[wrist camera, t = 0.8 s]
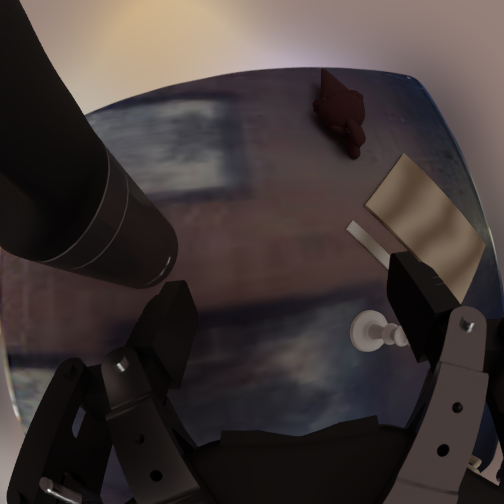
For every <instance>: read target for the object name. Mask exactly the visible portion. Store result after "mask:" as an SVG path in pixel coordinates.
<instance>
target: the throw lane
mask: <svg viewBox="0 0 504 504" xmlns="http://www.w3.org/2000/svg"><path fill="white" fill-rule="evenodd" d="M364 207H365V208H366V209H367V210H368V211H369V212H370V213H371V214H372V215H374V216H375V217H376V218H377V219H378V220H379V221H380V222H381V223H382V224H383V225H384V226H385V227H386V228H387V229H388V230H389V231H390V232H391V233H392V234H393V235H394V236H395V237H396V238H397V239H398V240H399V241H400V242H401V243H402V244H403V245H404V246H405V247H406V248H407V249H408V250H409V251H410V252H411V253H412V254H413V255H414V256H415V258H416V259H417V260H418V261H419V262H424V263H425V264H427V265H429V266H430V267H432V268H433V269H434V270H435V272H436V273H437V274H438V275H439V277H440V278H441V279H442V280H443V282H444V284H446V285H447V287H448V288H449V289H450V291H451V292H452V293H453V295H454V296H455V297H456V299H457V300H458V301H459V303H460V304H461V303H462V301H463V299H464V297H465V294H466V292H467V290H468V288H469V286H470V283H471V281H472V279H473V276H474V274H475V272H476V269H477V267H478V264H479V262H480V259H481V256H482V254H483V251H484V248H485V244H484V242H483V241H482V239H481V238H480V237H479V235H478V234H477V233H476V231H475V230H474V229H473V227H472V226H471V225H470V224H469V222H468V221H467V220H466V219H465V217H464V216H463V215H462V214H461V212H460V211H459V210H458V209H457V208H456V206H455V205H454V204H453V203H452V202H451V201H450V200H449V198H448V197H447V196H446V195H445V194H444V193H443V192H442V191H441V190H440V188H439V187H438V186H437V185H436V184H435V183H434V182H433V181H432V180H431V179H430V178H429V177H428V176H427V175H426V174H425V173H424V172H423V171H422V170H421V169H420V168H419V167H418V166H417V165H416V164H415V163H414V162H413V161H412V160H411V159H410V158H409V157H407V156H406V155H405V154H403V155H402V156H401V157H400V159H399V160H398V162H397V163H396V164H395V166H394V167H393V168H392V170H391V171H390V173H389V174H388V175H387V177H386V178H385V179H384V181H383V182H382V183H381V185H380V186H379V187H378V189H377V190H376V191H375V193H374V194H373V195H372V196H371V198H370V199H369V200H368V202H367V203H366V204H365V206H364ZM346 231H347V232H349V233H350V234H351V235H352V236H353V237H354V238H355V239H356V240H357V241H358V242H359V243H360V244H361V245H362V246H363V247H365V248H366V249H367V250H368V251H369V252H370V253H371V254H372V255H373V256H374V257H375V258H376V259H377V260H378V261H379V262H380V263H381V264H382V265H383V266H384V267H385V268H386V269H387V270H389V260H390V255H389V254H388V253H387V252H386V251H385V250H384V249H383V248H382V247H381V246H380V245H379V244H378V243H377V242H375V241H374V240H373V239H372V238H371V237H370V236H369V235H368V234H367V233H366V232H365V231H364V230H363V229H362V228H361V227H360V226H359V225H358V224H356V223H355V222H354V221H352V222H351V223H350V225H349V226H348V227H347V228H346Z"/></svg>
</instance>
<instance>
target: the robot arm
mask: <svg viewBox="0 0 504 504" xmlns="http://www.w3.org/2000/svg"><path fill="white" fill-rule="evenodd" d="M0 246H1V247H2V248H3V249H4V250H5V251H7V252H9V253H11V254H13V255H15V256H18V257H21V258H24V259H27V260H30V261H34V262H37V263H40V264H43V265H47V266H50V267H54V268H57V269H61V270H65V271H69V272H72V273H76V274H80V275H83V276H87V277H91V278H95V279H99V280H103V281H107V282H111V283H115V284H119V285H123V286H127V287H132V288H137V289H140V288H148V287H151V286H154V285H156V284H157V283H159V282H161V281H162V280H163V279H164V278H165V277H166V276H167V275H168V274H169V272H170V271H171V269H172V267H173V265H174V263H175V261H176V257H177V250H178V243H177V237H176V234H175V231H174V229H173V228H172V226H171V225H170V223H169V222H168V221H167V220H166V219H165V217H164V216H163V215H162V214H161V213H160V211H159V210H158V209H157V208H156V207H155V206H154V204H153V203H152V202H151V201H150V200H149V199H148V197H147V196H146V195H145V194H144V193H143V191H142V190H141V189H140V188H139V187H138V185H137V184H136V183H135V182H134V181H133V179H132V178H131V177H130V176H129V174H128V173H127V172H126V171H125V170H124V168H123V167H122V166H121V165H120V163H119V162H118V161H117V160H116V159H115V157H114V156H113V155H112V154H111V152H110V151H109V150H108V149H107V147H106V146H105V145H104V144H103V142H102V141H101V140H100V138H99V137H98V136H97V134H96V133H95V132H94V130H93V129H92V127H91V126H90V124H89V123H88V121H87V119H86V118H85V116H84V114H83V113H82V111H81V109H80V107H79V106H78V104H77V103H76V101H75V99H74V98H73V96H72V95H71V93H70V92H69V90H68V89H67V87H66V86H65V84H64V83H63V81H62V80H61V78H60V77H59V75H58V74H57V72H56V70H55V69H54V67H53V65H52V64H51V62H50V60H49V58H48V57H47V55H46V53H45V51H44V49H43V47H42V46H41V43H40V42H39V39H38V37H37V35H36V33H35V31H34V29H33V27H32V25H31V23H30V21H29V19H28V17H27V14H26V13H25V11H24V9H23V7H22V5H21V3H20V1H19V0H0ZM387 297H388V300H389V303H390V305H391V307H392V309H393V311H394V313H395V315H396V317H397V319H398V321H399V323H400V325H401V327H402V329H403V331H404V333H405V335H406V338H407V340H408V342H409V344H410V346H411V349H412V351H413V353H414V355H415V358H416V360H417V362H418V363H420V362H424V361H427V360H429V363H430V367H429V370H428V372H427V375H426V378H425V381H424V384H423V387H422V390H421V392H420V395H419V398H418V400H417V403H416V405H415V408H414V410H413V412H412V414H411V416H410V418H409V420H408V422H407V424H406V426H405V428H402V427H398V426H394V425H387V424H378V419H377V415H374V416H370V417H365V418H361V419H356V420H351V421H345V422H339V423H337V424H334V425H332V426H329V427H327V428H324V429H321V430H318V431H316V432H313V433H310V434H307V435H304V436H289V435H283V434H276V433H270V432H265V431H259V430H256V431H224V430H222V432H221V440H216V441H213V442H210V443H207V444H205V445H202V446H200V447H198V446H197V445H196V443H195V442H194V441H193V439H192V438H191V437H190V435H189V434H188V432H187V431H186V429H185V427H184V426H183V424H182V422H181V420H180V419H179V417H178V415H177V413H176V411H175V410H174V408H173V406H172V404H171V402H170V400H169V398H168V397H167V396H166V395H167V391H168V389H180V385H181V382H182V378H183V375H184V371H185V367H186V364H187V360H188V357H189V353H190V350H191V346H192V343H193V340H194V336H195V333H196V329H197V326H198V312H197V309H196V306H195V304H194V301H193V299H192V296H191V293H190V291H189V288H188V285H187V283H186V282H185V281H184V280H180V281H171V282H166V283H165V284H164V286H163V288H162V289H161V291H160V293H159V295H155V296H154V297H153V298H152V299H151V300H150V301H149V302H148V303H147V305H146V307H145V308H144V310H143V312H142V313H143V314H141V316H140V318H139V322H137V323H136V325H135V327H134V329H133V331H132V333H131V335H130V337H129V339H128V341H127V343H126V345H125V347H120V348H117V349H115V350H113V351H111V352H110V353H109V354H108V355H107V356H106V357H105V358H104V360H103V362H102V364H99V365H95V366H90V367H86V365H85V364H84V363H83V362H82V360H81V359H79V358H70V359H67V360H66V361H64V362H63V363H62V364H61V365H60V366H59V367H58V369H57V370H56V372H55V374H54V376H53V378H52V380H51V382H50V384H49V386H48V388H47V390H46V392H45V394H44V396H43V398H42V400H41V402H40V404H39V406H38V408H37V411H36V413H35V415H34V417H33V420H32V422H31V424H30V427H29V429H28V431H27V434H26V436H25V439H24V442H23V444H22V447H21V449H20V452H19V455H18V458H17V461H16V464H15V467H14V470H13V473H12V476H11V479H10V483H9V486H8V490H7V504H103V502H102V499H101V497H100V492H101V488H102V483H103V479H104V475H105V471H106V467H107V463H108V459H109V455H110V451H111V448H112V444H113V445H114V448H115V451H116V454H117V457H118V459H119V462H120V465H121V467H122V470H123V473H124V475H125V477H126V480H127V482H128V485H129V487H130V489H131V492H132V494H133V496H134V497H133V498H132V499H131V500H129V501H128V502H126V503H125V504H504V459H503V461H502V464H501V467H500V469H499V470H498V472H497V475H496V479H497V481H498V482H500V483H499V486H498V485H496V484H494V483H493V482H491V481H489V480H487V479H486V478H484V477H482V476H481V475H479V474H477V473H476V472H474V471H472V470H471V469H469V468H467V465H468V463H469V460H470V457H471V454H472V451H473V447H474V444H475V441H476V437H477V434H478V430H479V426H480V422H481V418H482V413H483V408H484V404H485V399H486V401H487V404H488V407H489V410H490V413H491V416H492V419H493V422H494V425H495V428H496V431H497V435H498V438H499V442H500V445H501V449H502V453H503V458H504V314H503V316H502V319H485V317H484V316H483V315H482V314H481V313H480V312H479V311H478V310H476V309H474V308H472V307H468V306H462V305H461V304H460V303H459V301H458V300H457V299H456V297H455V296H454V295H453V293H452V292H451V291H450V289H449V288H448V287H447V285H446V284H444V282H443V280H442V279H441V278H440V277H439V275H438V274H437V273H436V272H435V270H434V269H433V268H432V267H430V266H429V265H427V264H425V263H424V262H419V261H418V260H417V259H416V258H415V256H414V255H413V254H412V253H411V252H410V251H404V252H398V253H392V254H391V255H390V260H389V270H388V280H387ZM79 407H81V408H82V409H83V410H84V411H85V412H86V414H85V416H84V419H83V422H82V424H81V427H80V430H79V433H78V436H77V439H76V438H75V437H74V435H73V432H72V425H73V422H74V419H75V417H76V414H77V412H78V409H79Z"/></svg>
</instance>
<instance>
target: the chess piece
mask: <svg viewBox="0 0 504 504" xmlns="http://www.w3.org/2000/svg"><path fill="white" fill-rule="evenodd" d="M350 339H351V342H352V344H353V345H354V346H355V347H356V348H357V349H358V350H360V351H364V352H370V351H374V350H376V349H378V348H379V347H381V346H382V344H383V343H386V344H388V345H391V344H394V343H395V344H397V345H398V346H405V345H407V344H408V345H409V346H410V344H409V342H408V340H407V338H406V335H405V333H404V331H403V329H402V327H401V325H400V326H397V325H396V324H393V323H390V324H387V321H386V319H385V318H384V316H383V315H382V314H380V313H379V312H376V311H373V310H366V311H363V312H361V313H360V314H358V315H357V316H356V317H355V318H354V320H353V322H352V324H351V327H350Z"/></svg>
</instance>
